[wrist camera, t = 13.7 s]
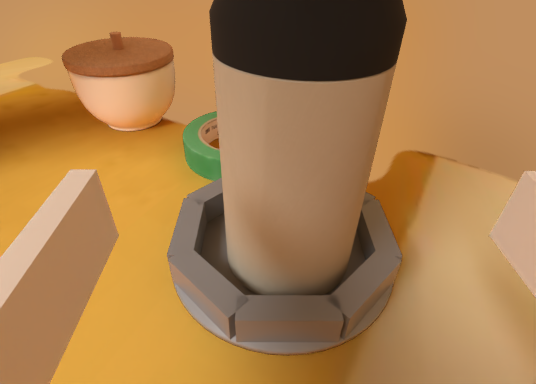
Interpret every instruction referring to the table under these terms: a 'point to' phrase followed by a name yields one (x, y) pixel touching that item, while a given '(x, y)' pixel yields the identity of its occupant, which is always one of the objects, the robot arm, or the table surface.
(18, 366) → the robot arm
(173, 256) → the socket ring
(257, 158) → the travel mug
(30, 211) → the table surface
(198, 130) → the tape roll
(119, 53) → the lidded jar
